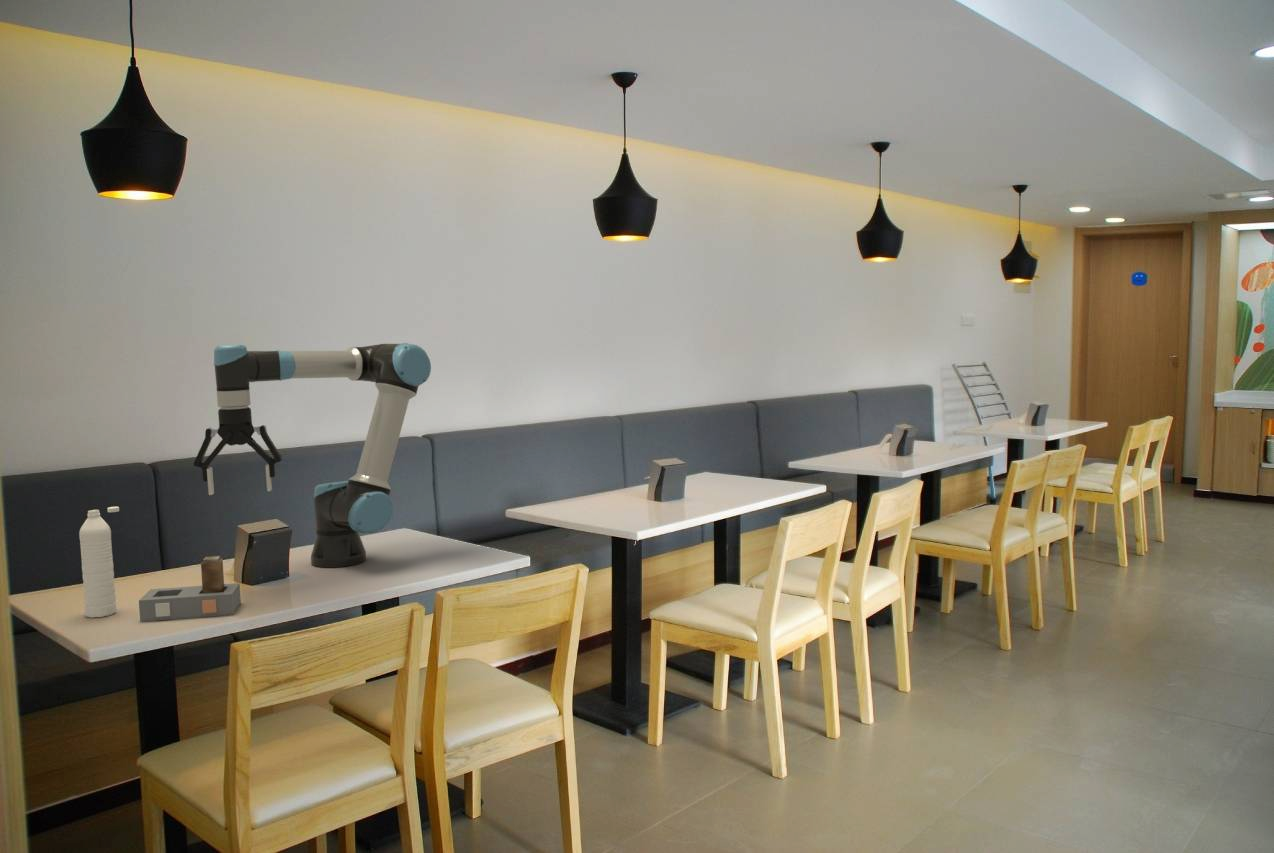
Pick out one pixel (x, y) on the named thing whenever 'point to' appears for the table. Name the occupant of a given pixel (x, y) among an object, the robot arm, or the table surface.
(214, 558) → the plug
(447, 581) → the table surface
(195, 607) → the socket block
